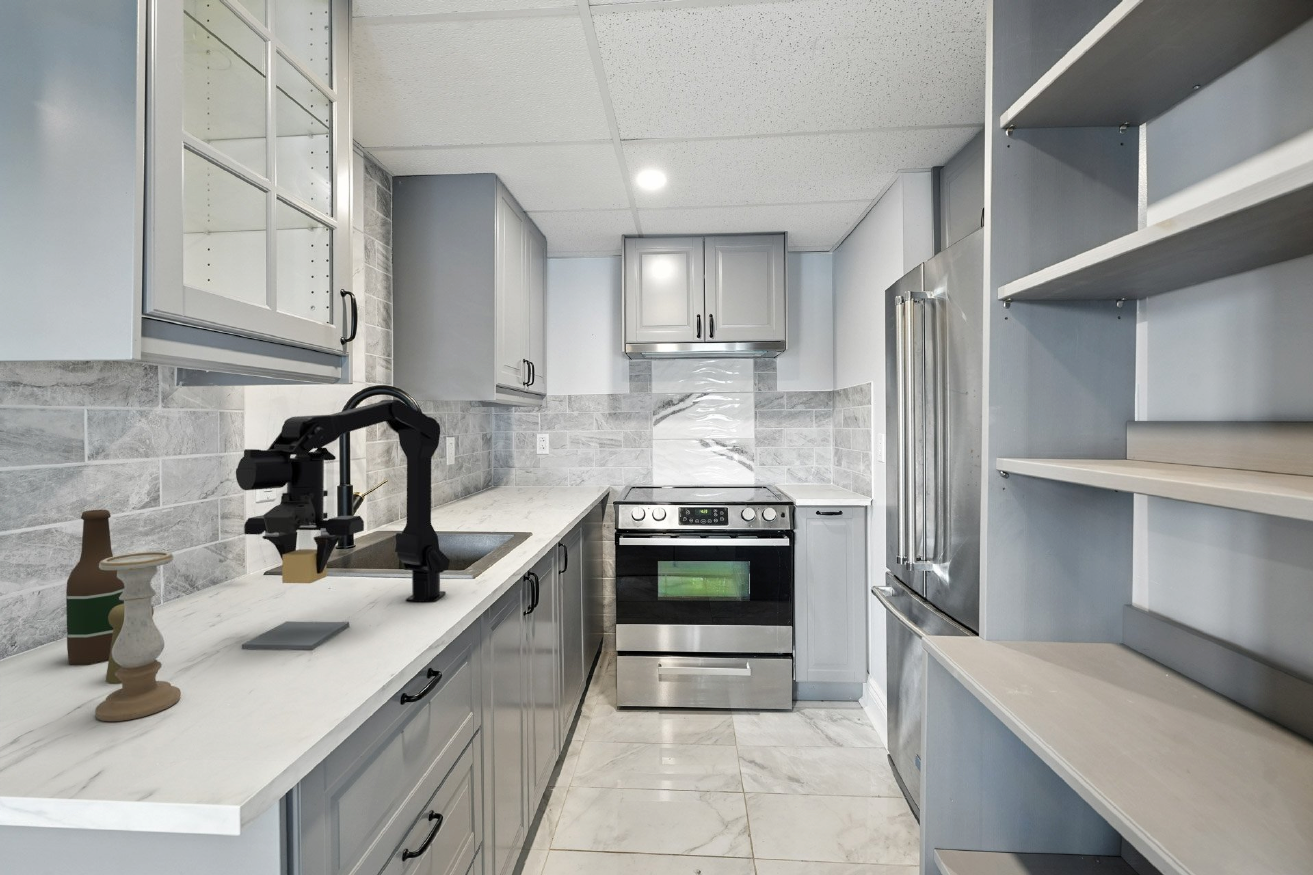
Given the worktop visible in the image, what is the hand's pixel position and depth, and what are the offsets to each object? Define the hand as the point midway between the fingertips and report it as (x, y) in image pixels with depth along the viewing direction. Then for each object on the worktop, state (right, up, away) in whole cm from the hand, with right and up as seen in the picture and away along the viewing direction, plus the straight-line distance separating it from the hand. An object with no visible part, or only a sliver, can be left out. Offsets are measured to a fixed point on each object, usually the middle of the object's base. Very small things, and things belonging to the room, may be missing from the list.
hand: (304, 572), depth 109 cm
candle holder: (-7, -12, -27) cm, 30 cm away
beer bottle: (-28, -12, -10) cm, 32 cm away
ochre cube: (0, -1, 0) cm, 1 cm away
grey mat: (-1, -11, 0) cm, 11 cm away
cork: (-16, -12, -17) cm, 26 cm away
